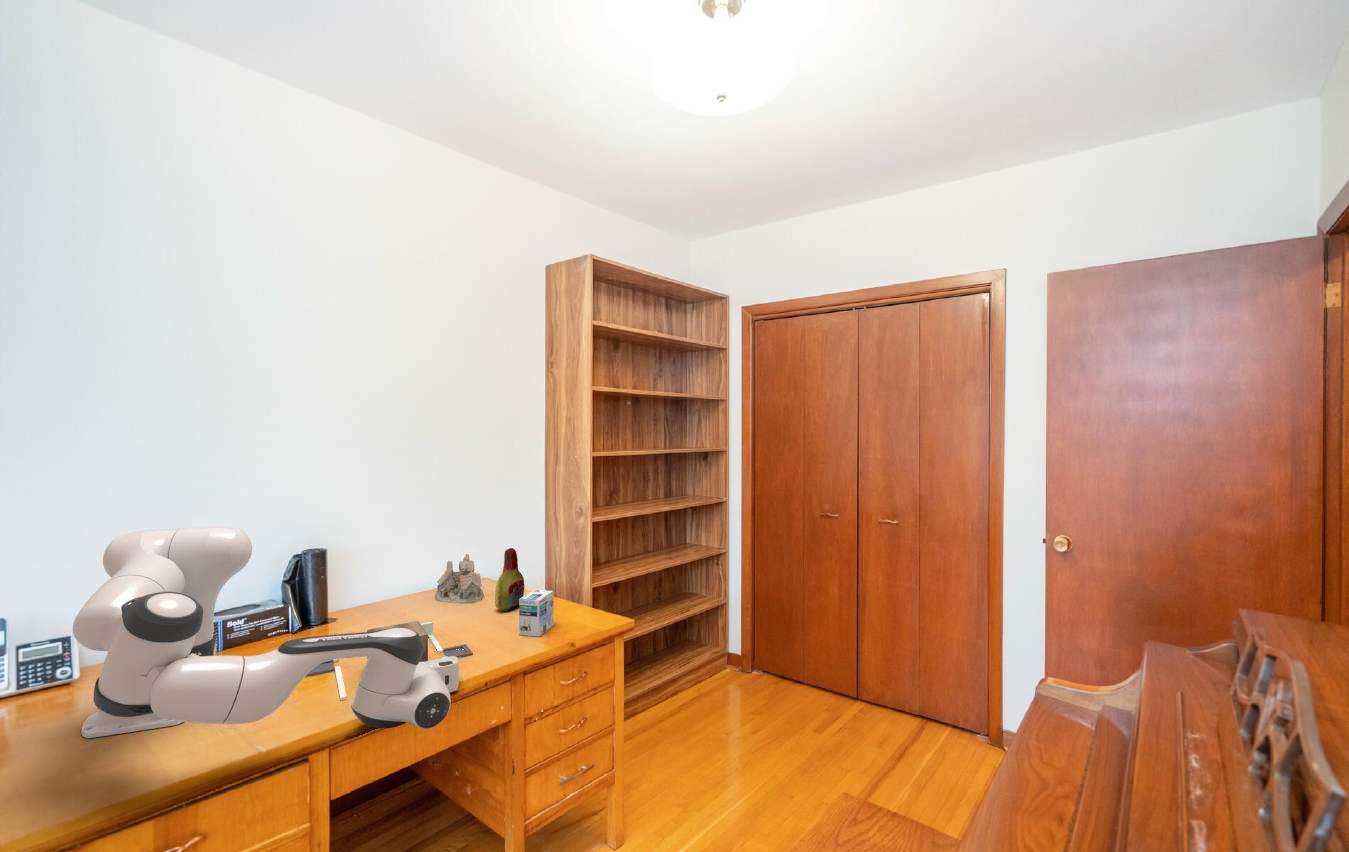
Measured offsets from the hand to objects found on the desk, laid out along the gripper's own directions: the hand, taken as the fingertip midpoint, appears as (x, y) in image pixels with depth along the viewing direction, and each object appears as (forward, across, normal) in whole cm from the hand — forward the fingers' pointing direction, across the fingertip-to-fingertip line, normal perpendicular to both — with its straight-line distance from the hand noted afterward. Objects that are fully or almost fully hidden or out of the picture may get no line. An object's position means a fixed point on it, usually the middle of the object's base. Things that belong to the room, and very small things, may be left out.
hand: (408, 664), depth 144 cm
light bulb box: (+16, +38, -3) cm, 41 cm away
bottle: (+41, +38, -2) cm, 56 cm away
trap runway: (+12, -2, -3) cm, 13 cm away
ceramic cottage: (+63, +26, -2) cm, 68 cm away
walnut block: (+6, -2, -3) cm, 7 cm away
